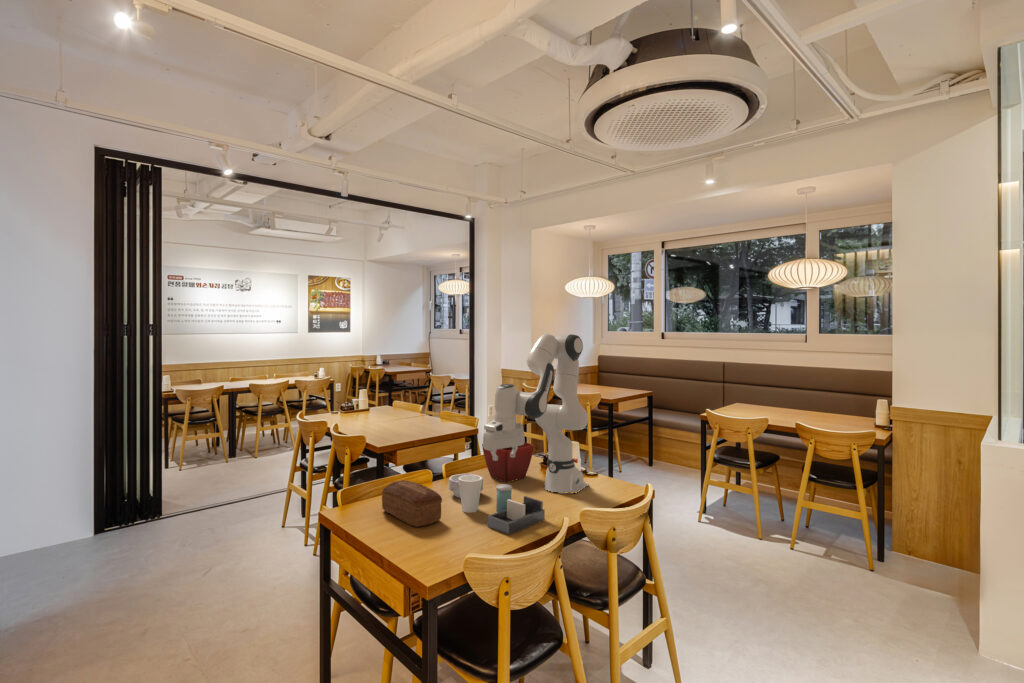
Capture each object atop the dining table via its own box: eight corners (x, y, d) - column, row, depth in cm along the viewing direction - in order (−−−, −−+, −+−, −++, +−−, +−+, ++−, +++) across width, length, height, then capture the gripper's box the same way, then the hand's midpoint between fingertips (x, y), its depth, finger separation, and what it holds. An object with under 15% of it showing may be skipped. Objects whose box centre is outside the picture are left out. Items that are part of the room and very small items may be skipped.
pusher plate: (508, 516, 188) (509, 499, 188) (525, 522, 182) (525, 504, 182) (506, 517, 187) (506, 499, 187) (522, 523, 181) (523, 505, 181)
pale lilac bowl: (485, 490, 223) (485, 473, 223) (479, 501, 208) (480, 483, 208) (452, 489, 225) (452, 472, 225) (444, 500, 210) (445, 481, 210)
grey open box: (523, 512, 196) (523, 495, 196) (544, 520, 188) (544, 502, 188) (487, 526, 181) (487, 507, 181) (508, 535, 174) (508, 515, 174)
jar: (503, 507, 202) (503, 483, 202) (514, 511, 198) (514, 486, 198) (493, 511, 197) (493, 486, 197) (503, 515, 193) (504, 489, 193)
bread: (415, 532, 176) (415, 498, 175) (376, 511, 196) (377, 480, 196) (446, 522, 185) (447, 490, 185) (406, 503, 206) (407, 474, 205)
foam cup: (485, 508, 200) (486, 477, 200) (472, 515, 192) (473, 482, 192) (467, 504, 205) (467, 473, 204) (453, 511, 197) (453, 479, 197)
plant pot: (506, 485, 231) (506, 450, 231) (480, 476, 245) (481, 443, 245) (534, 478, 244) (534, 444, 244) (509, 470, 258) (509, 438, 258)
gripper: (517, 421, 207) (517, 454, 207) (480, 425, 193) (479, 460, 193) (528, 423, 203) (527, 456, 202) (491, 427, 188) (490, 463, 188)
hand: (504, 458), depth 197 cm, fingers open, 8 cm apart
